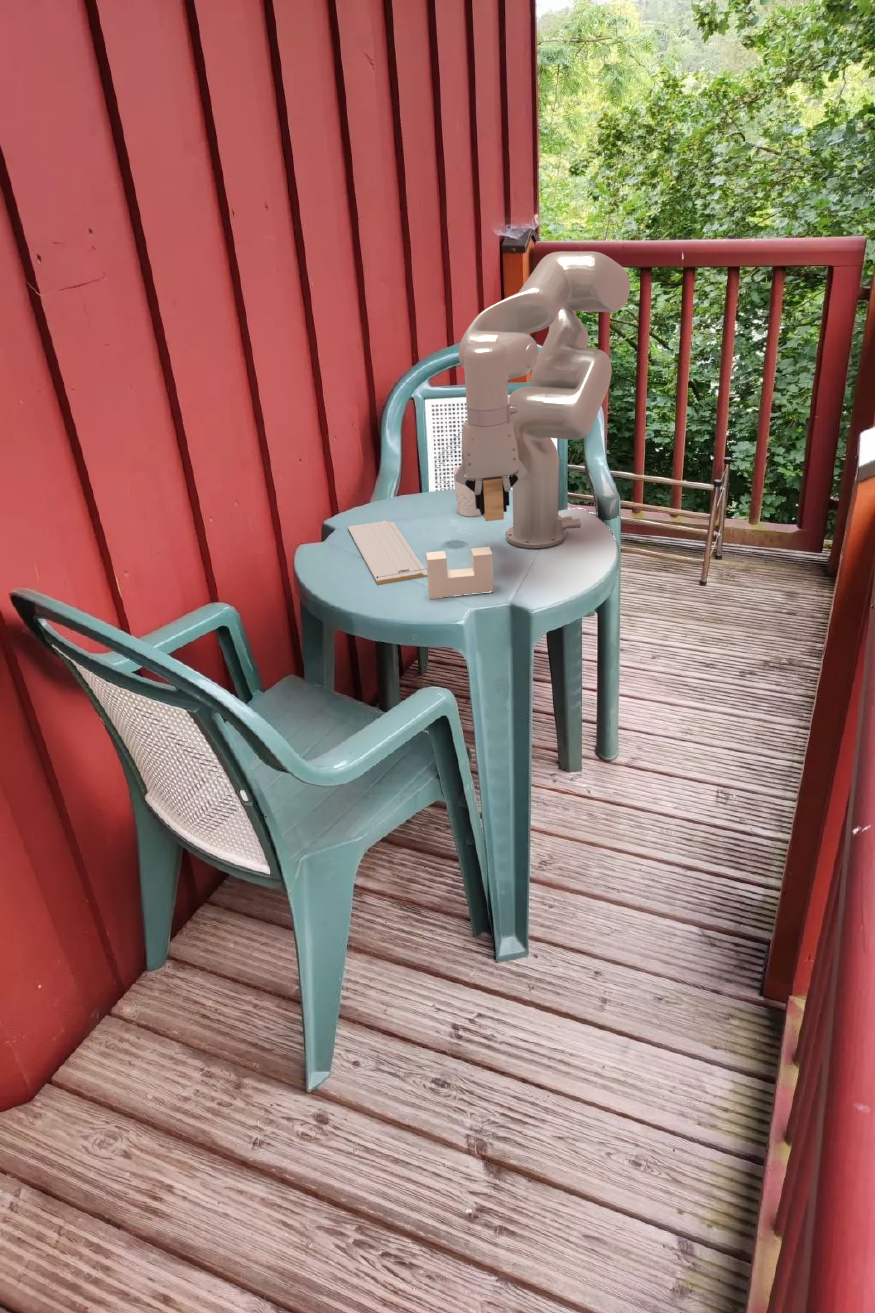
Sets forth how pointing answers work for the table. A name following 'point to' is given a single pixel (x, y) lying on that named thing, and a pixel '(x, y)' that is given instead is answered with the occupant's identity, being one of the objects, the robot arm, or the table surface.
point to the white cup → (465, 499)
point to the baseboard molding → (386, 552)
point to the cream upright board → (459, 574)
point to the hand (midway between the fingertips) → (492, 509)
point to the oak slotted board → (493, 498)
